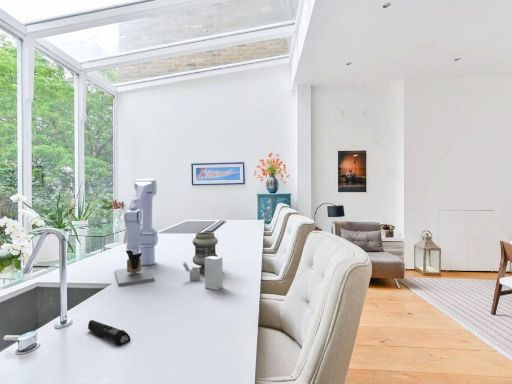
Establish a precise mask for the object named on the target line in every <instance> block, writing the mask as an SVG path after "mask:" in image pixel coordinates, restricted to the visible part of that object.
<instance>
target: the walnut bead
mask: <svg viewBox="0 0 512 384" xmlns="http://www.w3.org/2000/svg"><path fill="white" fill-rule="evenodd" d="M141 267H142V266H141V259H139V263H138V268H137V269H132V267H131V262H130V259H129V258H128V259H126V268H127V272H128V273H134V272H139V271H141Z"/></svg>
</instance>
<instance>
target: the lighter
mask: <svg viewBox="0 0 512 384" xmlns="http://www.w3.org/2000/svg"><path fill="white" fill-rule="evenodd" d="M182 265H183V267H184V270H185V271H186V273H188V272H189V281H198V280H199V279H200V278H201V276H200V275H201V273H200V269H198V268H199V267H198V266H197V267H196V266H192V267H191V269H190V267H189V266H188V264H187V262H186V261H183V262H182Z"/></svg>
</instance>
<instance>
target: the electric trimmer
mask: <svg viewBox="0 0 512 384" xmlns="http://www.w3.org/2000/svg"><path fill="white" fill-rule="evenodd" d="M87 328H88V330H89V331H90V332H91V333H93V334H95V336H97V337H98V338H102V337H103V338H105V339H108V340H111V341H112V342H114V343H115V345H116V346H117V347H119V346H120V347H121V346H124V345H126V344H128V343H130V342H131V339H132V338H131V337H130V335H129V333H128V332H127V331H126V330H124V329H119V328H116V327H114V326H111V325H108V324H104V323H102V322H99V321H96V320H92V319H91V320H89V322H88V324H87Z"/></svg>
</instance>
